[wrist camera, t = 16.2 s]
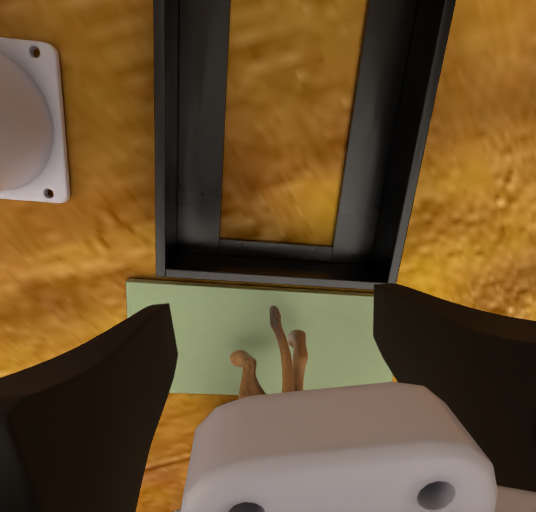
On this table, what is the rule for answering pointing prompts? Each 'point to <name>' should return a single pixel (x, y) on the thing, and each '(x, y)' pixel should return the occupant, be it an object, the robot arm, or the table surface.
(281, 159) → the table surface
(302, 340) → the lion figurine
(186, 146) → the picture frame
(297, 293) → the sage mat
